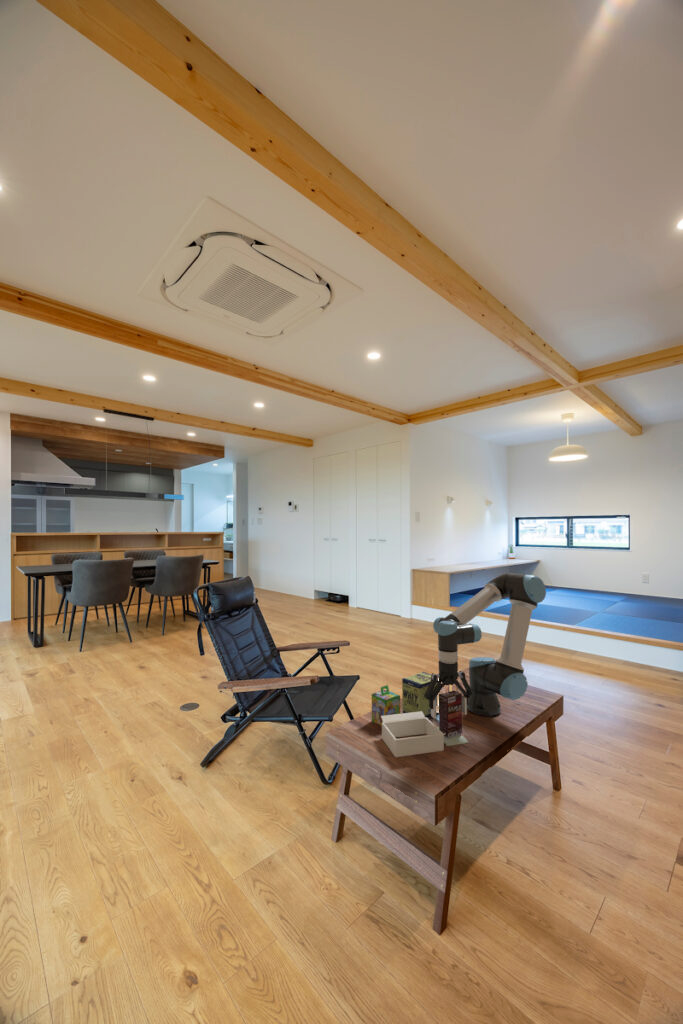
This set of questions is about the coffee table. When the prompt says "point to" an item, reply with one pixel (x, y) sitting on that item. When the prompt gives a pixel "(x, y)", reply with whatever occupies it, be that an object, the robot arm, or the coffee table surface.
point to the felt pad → (455, 740)
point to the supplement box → (450, 714)
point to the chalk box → (384, 704)
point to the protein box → (416, 693)
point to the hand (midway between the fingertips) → (448, 715)
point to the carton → (411, 726)
